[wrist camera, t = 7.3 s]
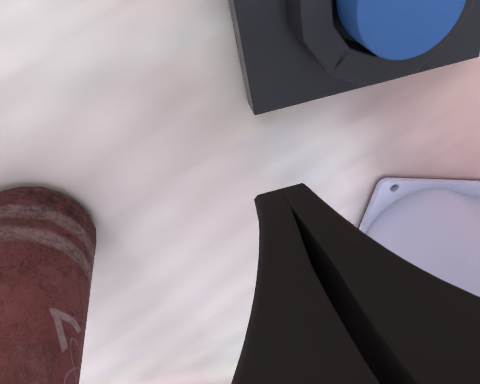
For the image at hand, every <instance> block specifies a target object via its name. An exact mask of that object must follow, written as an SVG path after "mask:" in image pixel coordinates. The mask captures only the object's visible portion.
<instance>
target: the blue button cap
mask: <svg viewBox="0 0 480 384" xmlns="http://www.w3.org/2000/svg"><path fill="white" fill-rule="evenodd" d="M465 2H466V0H336V6H337V13H338V17H339V20H340V23H341V25H342V27H343V28H344V30H345V31H346V32H347V34H348V35H349V36H351V37H352V38H353V39H354V40H356V41H357V42H358V43H360V44H361V45H363V46H364V47H365V48H367V49H368V50H370V51H371V52H372V53H374V54H375V55H377V56H379V57H381V58H384V59H388V60H405V59H410V58H413V57H416V56H418V55H421V54H423V53H425V52H426V51H428V50H430V49H431V48H432V47H434V46H435V45H437V44H438V43H439V42H440V41H441V40H442V39H443V38H444V37H445V36H446V35H447V34H448V33H449V31H450V30H451V29H452V27H453V26H454V25H455V23H456V21H457V20H458V18H459V16H460V14H461V12H462V10H463V8H464V5H465Z"/></svg>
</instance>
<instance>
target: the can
mask: <svg viewBox="0 0 480 384" xmlns="http://www.w3.org/2000/svg"><path fill="white" fill-rule="evenodd" d="M95 247H96V229H95V226H94V224H93V222H92V220H91V218H90V216H89V215H88V214H87V213H86V212H85V211H84V210H83V209H82V208H81V207H80V206H79V205H78V204H77V203H76V202H75V201H74V200H72V199H71V198H69V197H67V196H65V195H63V194H62V193H60V192H57V191H53V190H49V189H46V188H42V187H19V188H15V189H10V190H6V191H1V192H0V384H79V378H80V370H81V362H82V354H83V345H84V337H85V329H86V321H87V313H88V304H89V296H90V288H91V280H92V272H93V263H94V255H95Z"/></svg>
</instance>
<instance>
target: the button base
mask: <svg viewBox="0 0 480 384" xmlns="http://www.w3.org/2000/svg"><path fill="white" fill-rule="evenodd" d="M229 4H230V9H231V15H232V20H233V25H234V30H235V36H236V41H237V46H238V52H239V57H240V62H241V67H242V73H243V78H244V83H245V88H246V94H247V99H248V103H249V105H250V107H251V109H252V111H253V113H254V115H258V114H262V113H265V112H269V111H273V110H277V109H281V108H285V107H288V106H292V105H296V104H300V103H304V102H308V101H311V100H315V99H319V98H323V97H327V96H331V95H334V94H338V93H342V92H346V91H350V90H354V89H357V88H361V87H365V86H369V85H373V84H377V83H381V82H385V81H388V80H392V79H396V78H400V77H404V76H408V75H411V74H415V73H419V72H422V71H426V70H430V69H434V68H438V67H442V66H445V65H449V64H453V63H457V62H461V61H465V60H468V59H472V58H476V57H479V53H480V0H466V2H465V5H464V8H463V10H462V12H461V14H460V16H459V18H458V20H457V21H456V23H455V25H454V26H453V27H452V29H451V30H450V31H449V33H448V34H447V35H446V36H445V37H444V38H443V39H442V40H441V41H440V42H439V43H438V44H437V45H435V46H434V47H432V48H431V49H430V50H428V51H426V52H425V53H423V54H421V55H418V56H416V57H413V58H410V59H405V60H388V59H384V58H381V57H379V56H377V55H375V54H374V53H372V52H371V51H370V50H368V49H367V48H365V47H364V46H363V45H361V44H360V43H358V42H357V41H356V40H354V39H353V38H352V37H351V36H349V35H348V34H347V32H346V31H345V30H344V28H343V27H342V25H341V23H340V20H339V17H338V13H337V6H336V0H229Z"/></svg>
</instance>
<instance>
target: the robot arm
mask: <svg viewBox="0 0 480 384" xmlns="http://www.w3.org/2000/svg"><path fill="white" fill-rule="evenodd" d="M393 185H394V187H392V186H393ZM391 187H392V188H391ZM254 201H255V205H256V210H257V215H258V220H259V260H258V270H257V280H256V287H255V294H254V299H253V305H252V310H251V315H250V320H249V324H248V328H247V332H246V336H245V340H244V344H243V348H242V351H241V355H240V358H239V361H238V365H237V368H236V371H235V374H234V377H233V380H232V383H231V384H480V181H476V180H446V179H417V178H383V179H381V180H380V181H379V182H378V183H377V185H376V188H375V190H374V193H373V195H372V197H371V200H370V202H369V205H368V207H367V210H366V212H365V214H364V217H363V219H362V222H361V224H360V227H359V229H358V228H357V227H355V226H354V225H353V224H351V223H350V222H349V221H347V220H346V219H345V218H343V217H342V216H341V215H340V214H338V213H337V212H336V211H335V210H334V209H332V208H331V207H330V206H329V205H328V204H326V203H325V202H324V201H323V200H322V199H321V198H319V197H318V196H317V195H316V194H315V193H314V192H313V191H312V190H311V189H310V188H308V187H307V186H306V185H305V184H303V183H301V184H297V185H293V186H290V187H286V188H282V189H278V190H275V191H271V192H267V193H264V194H260V195H257V197H256V198H255V199H254Z"/></svg>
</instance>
